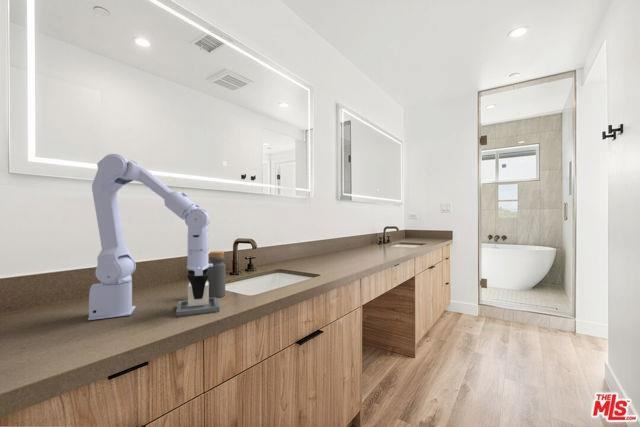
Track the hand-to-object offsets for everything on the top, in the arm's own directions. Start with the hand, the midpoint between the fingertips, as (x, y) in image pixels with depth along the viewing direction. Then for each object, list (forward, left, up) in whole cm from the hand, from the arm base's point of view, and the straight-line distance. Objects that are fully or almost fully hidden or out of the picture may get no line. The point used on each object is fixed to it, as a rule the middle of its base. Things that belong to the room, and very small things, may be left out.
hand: (198, 296), depth 85 cm
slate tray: (0, 0, -4) cm, 4 cm away
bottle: (+6, +13, -4) cm, 15 cm away
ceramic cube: (0, 0, -2) cm, 2 cm away
